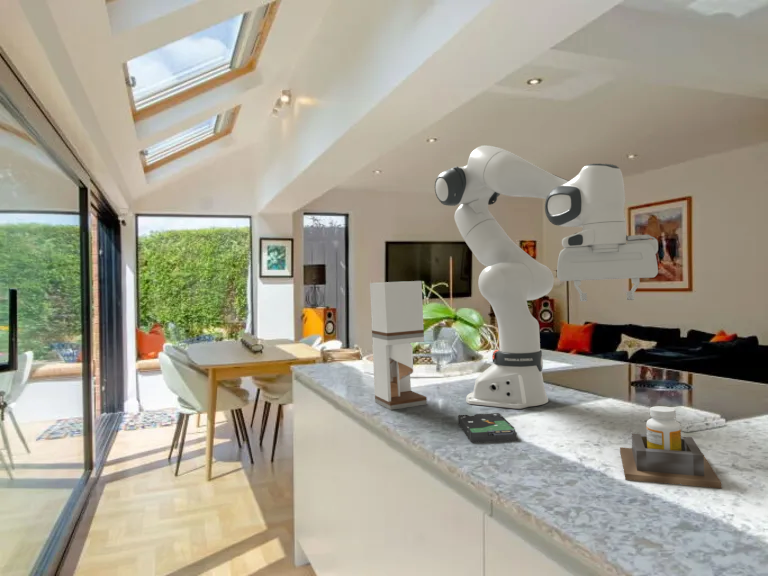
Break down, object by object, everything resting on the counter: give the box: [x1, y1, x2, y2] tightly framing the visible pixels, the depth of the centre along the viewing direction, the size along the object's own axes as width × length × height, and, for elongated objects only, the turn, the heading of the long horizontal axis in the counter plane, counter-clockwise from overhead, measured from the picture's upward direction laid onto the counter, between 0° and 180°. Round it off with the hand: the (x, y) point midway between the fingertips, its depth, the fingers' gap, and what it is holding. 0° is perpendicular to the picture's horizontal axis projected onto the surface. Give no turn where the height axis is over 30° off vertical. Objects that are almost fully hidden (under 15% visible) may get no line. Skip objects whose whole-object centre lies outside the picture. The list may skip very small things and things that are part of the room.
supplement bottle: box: [645, 405, 682, 451], centre depth 91 cm, size 5×5×10 cm
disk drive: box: [457, 412, 518, 443], centre depth 118 cm, size 10×3×15 cm
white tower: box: [369, 280, 428, 411], centre depth 147 cm, size 11×11×35 cm
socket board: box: [619, 432, 723, 489], centre depth 91 cm, size 14×14×4 cm
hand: (606, 300), depth 112 cm, fingers open, 8 cm apart
